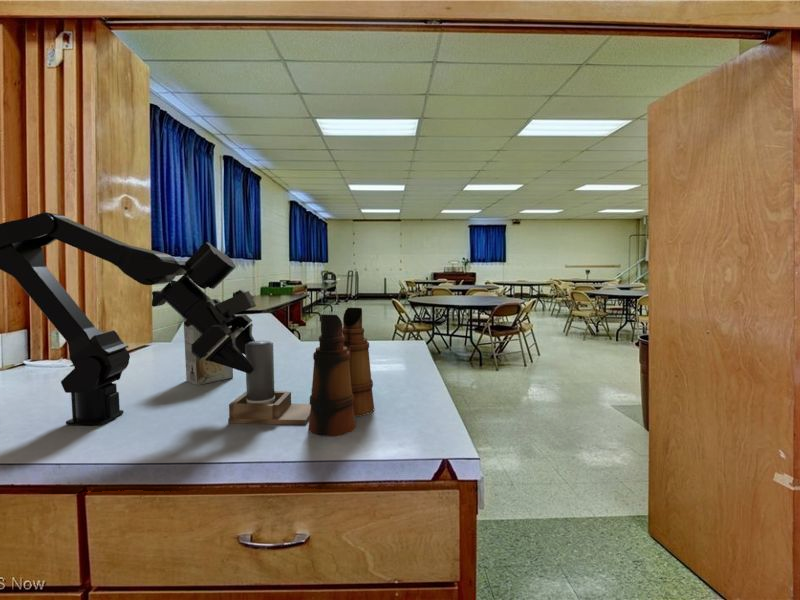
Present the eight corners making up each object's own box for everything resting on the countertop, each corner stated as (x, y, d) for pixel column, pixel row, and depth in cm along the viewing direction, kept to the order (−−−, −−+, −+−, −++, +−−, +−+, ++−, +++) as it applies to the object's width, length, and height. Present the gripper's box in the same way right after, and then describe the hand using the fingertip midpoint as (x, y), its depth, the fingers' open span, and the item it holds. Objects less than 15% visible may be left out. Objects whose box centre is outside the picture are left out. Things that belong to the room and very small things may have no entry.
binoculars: (342, 400, 91) (342, 305, 90) (380, 404, 89) (380, 306, 88) (299, 433, 74) (297, 315, 72) (344, 438, 72) (343, 317, 70)
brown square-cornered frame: (228, 423, 78) (227, 405, 78) (247, 406, 87) (246, 390, 87) (305, 424, 78) (305, 406, 78) (316, 407, 87) (316, 391, 87)
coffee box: (221, 373, 113) (220, 312, 112) (233, 378, 109) (231, 314, 108) (185, 380, 106) (182, 315, 105) (196, 385, 102) (193, 317, 101)
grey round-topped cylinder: (241, 412, 81) (238, 344, 80) (258, 404, 86) (256, 339, 85) (264, 415, 79) (262, 345, 78) (280, 406, 84) (278, 340, 83)
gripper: (209, 277, 71) (280, 344, 73) (240, 274, 89) (296, 328, 91) (160, 325, 71) (231, 391, 73) (201, 312, 89) (257, 365, 91)
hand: (258, 365), depth 82 cm, fingers open, 9 cm apart
